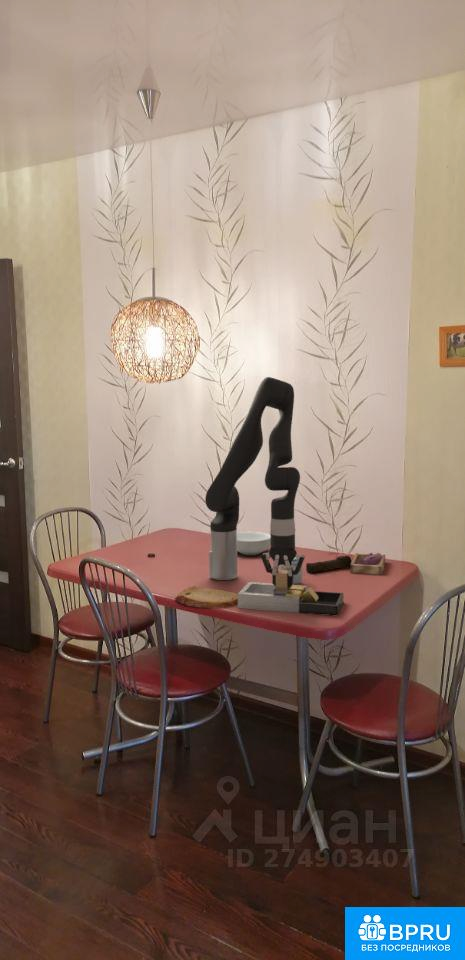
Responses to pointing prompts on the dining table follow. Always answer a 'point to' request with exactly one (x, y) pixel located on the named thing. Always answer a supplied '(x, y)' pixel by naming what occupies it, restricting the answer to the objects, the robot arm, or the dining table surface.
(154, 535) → the dining table surface
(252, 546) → the cereal bowl
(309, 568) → the hand tool
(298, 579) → the medicine box
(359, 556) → the light wood shallow tray
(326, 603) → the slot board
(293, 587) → the khaki small block
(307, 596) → the tan square block
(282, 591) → the beige and grey block
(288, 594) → the tan wood block
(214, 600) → the slice of bread
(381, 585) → the dining table surface
